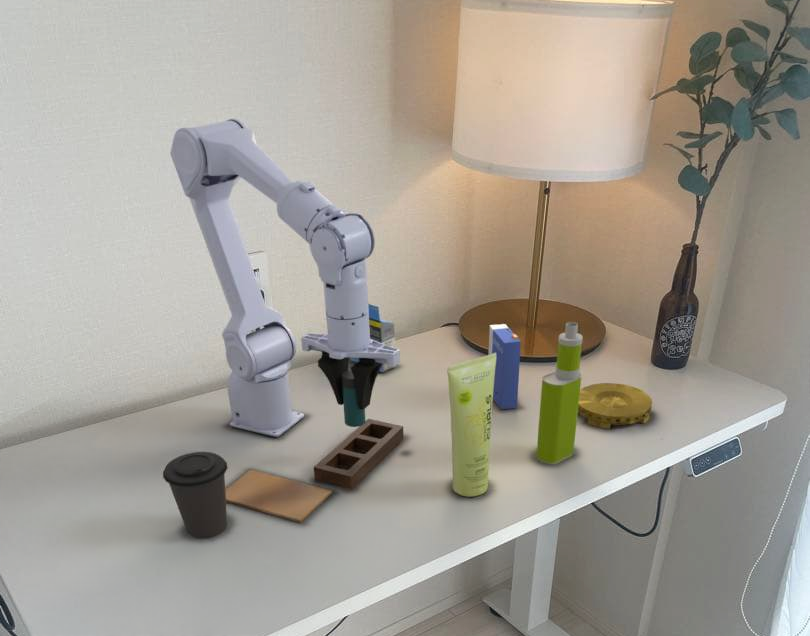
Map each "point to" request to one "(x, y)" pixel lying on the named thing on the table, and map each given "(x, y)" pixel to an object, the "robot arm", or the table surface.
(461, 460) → the tube
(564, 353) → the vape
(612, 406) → the yellow flat disc
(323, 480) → the pen stand
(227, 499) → the cork mat
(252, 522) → the table surface
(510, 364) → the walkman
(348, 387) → the teal capped bottle
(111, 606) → the table surface
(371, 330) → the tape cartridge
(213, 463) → the coffee cup
